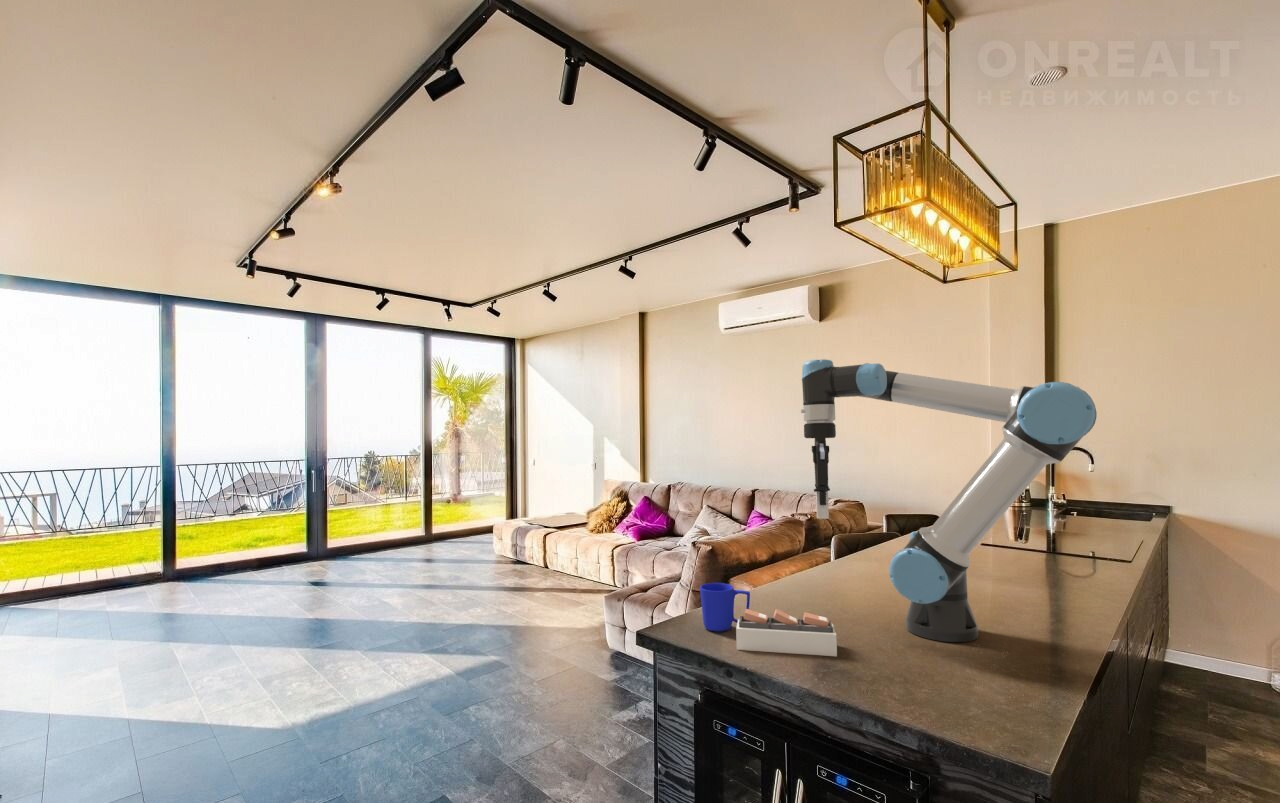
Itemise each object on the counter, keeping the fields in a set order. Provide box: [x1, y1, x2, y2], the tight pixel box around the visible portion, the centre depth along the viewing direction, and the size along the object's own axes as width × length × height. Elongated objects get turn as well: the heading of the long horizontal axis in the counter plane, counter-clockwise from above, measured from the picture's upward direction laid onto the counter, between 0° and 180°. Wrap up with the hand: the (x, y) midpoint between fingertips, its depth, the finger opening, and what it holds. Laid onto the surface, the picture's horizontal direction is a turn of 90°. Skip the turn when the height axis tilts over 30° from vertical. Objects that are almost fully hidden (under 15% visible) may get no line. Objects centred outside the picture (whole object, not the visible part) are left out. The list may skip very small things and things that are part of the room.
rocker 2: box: [773, 608, 798, 625], centre depth 127 cm, size 5×3×2 cm, turn 75°
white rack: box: [735, 615, 838, 657], centre depth 127 cm, size 21×7×6 cm, turn 77°
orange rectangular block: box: [802, 611, 829, 627], centre depth 126 cm, size 5×3×2 cm, turn 76°
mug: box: [699, 582, 751, 633], centre depth 140 cm, size 8×12×10 cm
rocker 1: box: [743, 608, 768, 624], centre depth 129 cm, size 5×3×2 cm, turn 76°
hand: (822, 518), depth 141 cm, fingers closed
